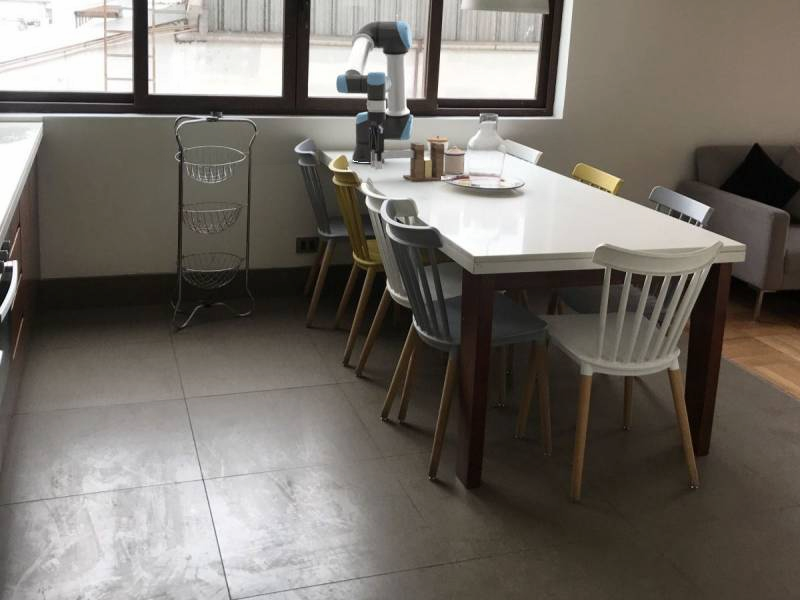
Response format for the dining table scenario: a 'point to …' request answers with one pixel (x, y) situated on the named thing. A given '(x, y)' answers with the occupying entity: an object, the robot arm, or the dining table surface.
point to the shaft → (396, 154)
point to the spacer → (427, 168)
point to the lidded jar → (438, 139)
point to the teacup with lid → (454, 161)
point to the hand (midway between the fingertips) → (376, 167)
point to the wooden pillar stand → (418, 163)
